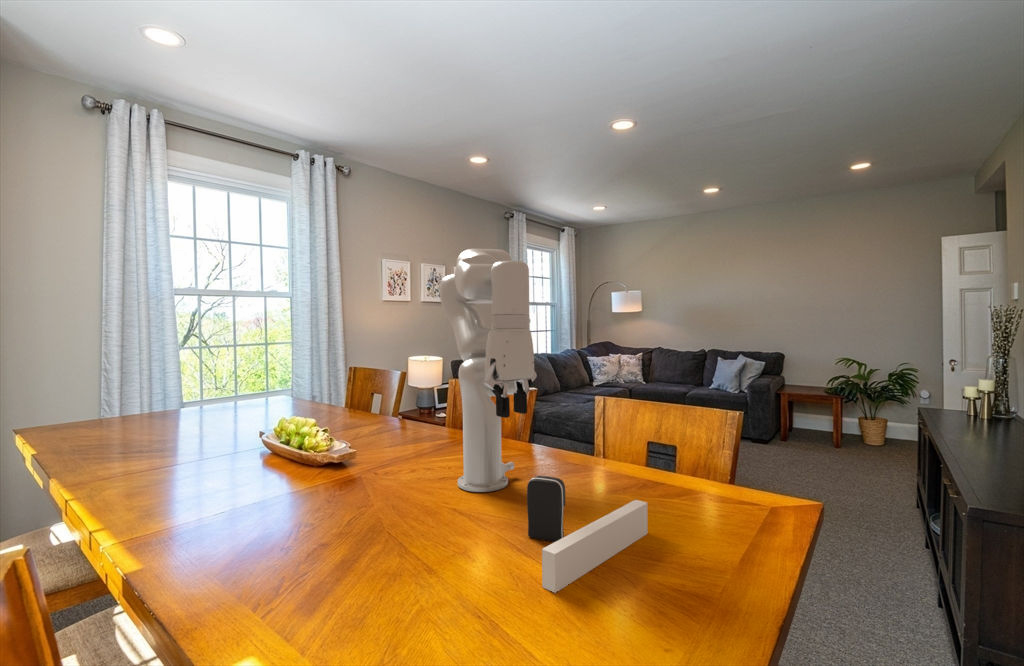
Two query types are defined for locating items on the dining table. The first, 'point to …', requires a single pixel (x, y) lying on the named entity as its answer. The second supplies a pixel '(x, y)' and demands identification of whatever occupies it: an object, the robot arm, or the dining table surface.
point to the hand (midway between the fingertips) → (511, 413)
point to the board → (592, 545)
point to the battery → (545, 508)
